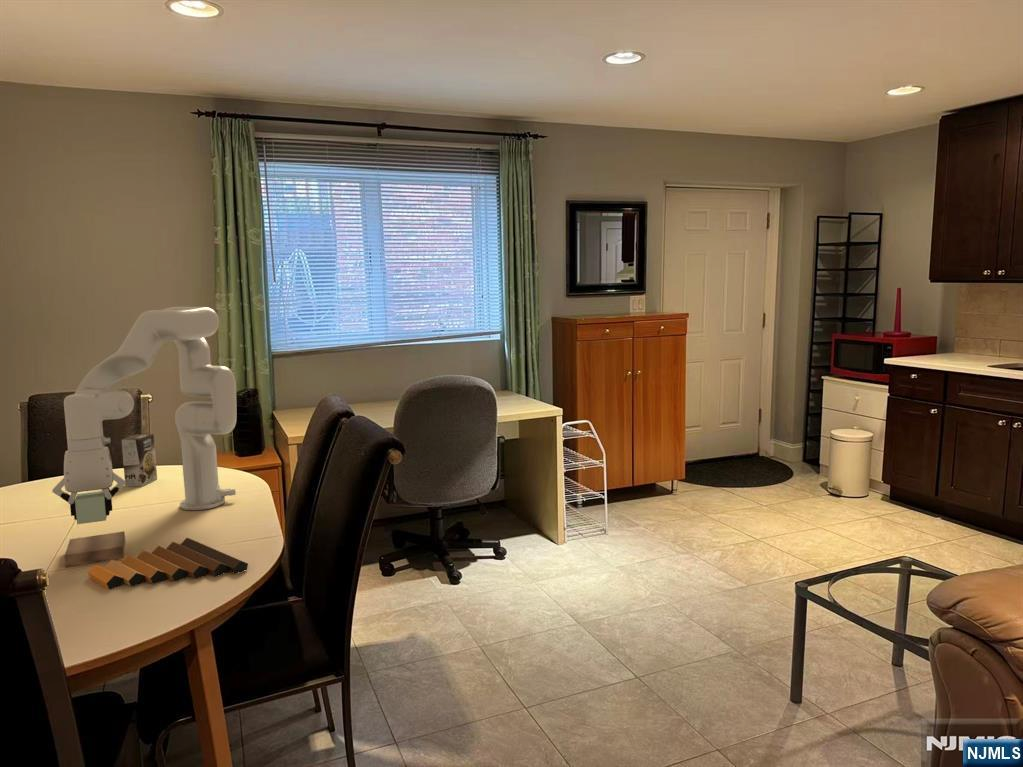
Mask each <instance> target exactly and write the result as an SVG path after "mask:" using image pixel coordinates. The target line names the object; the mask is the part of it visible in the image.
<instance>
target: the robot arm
mask: <svg viewBox="0 0 1023 767" xmlns="http://www.w3.org/2000/svg"><path fill="white" fill-rule="evenodd" d="M219 325H220V319H219V316H218V313H217V312H216V311H215V310H214V309H213V308H210V307H207V306H172V307H167V308H164V309H153V310H151V309H150V310H146V311H143V312H142V313H141V314H139V316H138V317H137V319H136V320H135V322H134V324H133V325H132V327H131V329H130V330H129V332H128V334H127V336H126V337H125V339H124V340H123V341H122V343H121V345H120V346H119V348H118V350H117V351H116V352H115V353H113V354H111V355H110V356H108V357H106V358H105V359H104V360H102V361H101V362H100V363H98V364H97V365H95V366H94V367H93V368H91V370H89V371H88V372H87V373H86V374H85V376H84V377H83V378H82V380H81V382H80V383H79V385H78V387H77V389H76V390H75V392H74V393H72V394H69V395H67V396H65V398H64V400H63V409H64V419H65V421H64V422H65V428H66V429H65V431H66V441H67V450H65V452H64V456H63V457H64V459H63V478H62V479H61V480H60V481H59V482H58V483H57V484H56V485H55V486H54V487H53V488H52V493H53V494H54V495H56V496H58V497H60V498H61V499H62V500H64V501H65V502H67V503H68V504H69V507H70V509H69V510H70V516H71V517H72V516H73V519H74V520H75V521H77V517H76V506H75V499H76V496H77V494H78V493H85V492H93V491H98V490H99V491H103V493H104V494H105V509H106V515H107V516H110V513H111V511H113V500H112V499H113V497H114V496H115V495H116V494H117V493H118V492H119V491H120V490H121V489H122V488H123V487H125V478H122V476H119V475H118V474H117V473H115V472H114V469H113V464H112V462H113V461H112V457H111V454H110V448H109V447H108V446H106V445H107V444H111V437H107V436H106V437H105V436H104V430H103V428H104V427H103V421H106V420H119V419H123V418H125V417H128V416H129V415H130V414H131V413H132V411H133V409H134V407H135V401H134V400H135V399H134V398H133V395H131V393H129V392H128V391H127V390H124V389H120V388H119V389H118V388H111V387H112V386H113V385H115V384H116V383H117V382H119V381H121V380H124V379H126V378H129V377H132V376H134V375H136V374H140V373H141V372H144V371H146V370H148V369H149V368H150V367H151V365H152V364H153V362H154V360H155V359H156V357H157V355H158V354H159V351H160V349H161V348H162V346H163V344H164V343H165V342H174V343H175V345H176V348H177V351H178V358H179V359H178V360H179V362H178V363H179V364H178V365H179V366H178V367H179V368H178V369H179V384H180V385H179V387H180V390H181V393H182V394H183V395H185V396H188V397H192V398H193V397H194V398H210V399H211V401H188V402H187V401H186V402H183V403H182V404H181V405H180V406H178V408H177V409H176V411H175V414H174V421H175V426H176V428H177V432H178V435H179V440H180V441H179V442H180V449H181V461H182V475H183V476H182V477H183V485H184V486H183V487H184V499H183V500H182V501H180V502H179V508H181V509H182V510H185V511H204V510H209V509H213V508H218V507H220V506H222V505H223V504H225V502H226V497H228V496H236V495H237V494H236V493H237V492H236V488H232V489H231V488H230V487H229V488H228V487H227V488H224V489H223V488H221V486H220V485H219V483H220V482H219V473H218V472H219V471H218V470H219V469H218V460H217V458H218V457H217V446H216V442H215V440H214V438H213V436H212V435H227V434H230V433H232V432H233V431H234V429H235V427H236V424H237V418H238V417H237V414H238V413H237V411H238V410H237V409H238V408H237V405H238V403H237V402H238V401H237V382H236V381H237V380H236V378H235V375H234V373H233V371H232V370H231V369H230V368H228V367H227V366H223V365H212V362H211V349H210V345H209V344H208V342H207V339H205V338H208V337H211V336H213V335H214V334H215V333H216V332H217V330H218V329H219V327H220V326H219ZM114 482H116V484H115V486H113V483H114ZM62 488H64V490H62Z"/></svg>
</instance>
